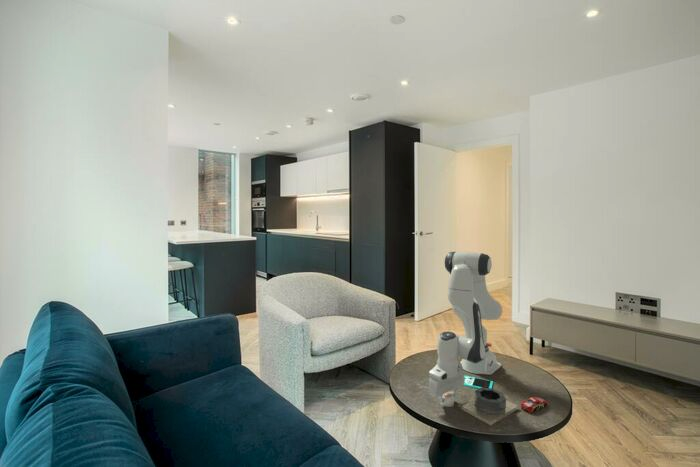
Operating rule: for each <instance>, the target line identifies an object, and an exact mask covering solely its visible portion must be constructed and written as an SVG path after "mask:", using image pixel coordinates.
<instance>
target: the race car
mask: <svg viewBox="0 0 700 467" xmlns="http://www.w3.org/2000/svg"><path fill="white" fill-rule="evenodd" d="M547 405H548V404H547V401H546V400H545V399H544V398H541V397H537V396H536V397H532V396H531V397H529V398H526V399H525V400H524V401H522V403H521V409H522V410H524V411H526V412H527V413H531V414H532V413H533V412H534V413H535V412H537V411H539V410H541V408H542V409H543V408H546V407H547ZM545 406H546V407H545Z"/></svg>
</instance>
